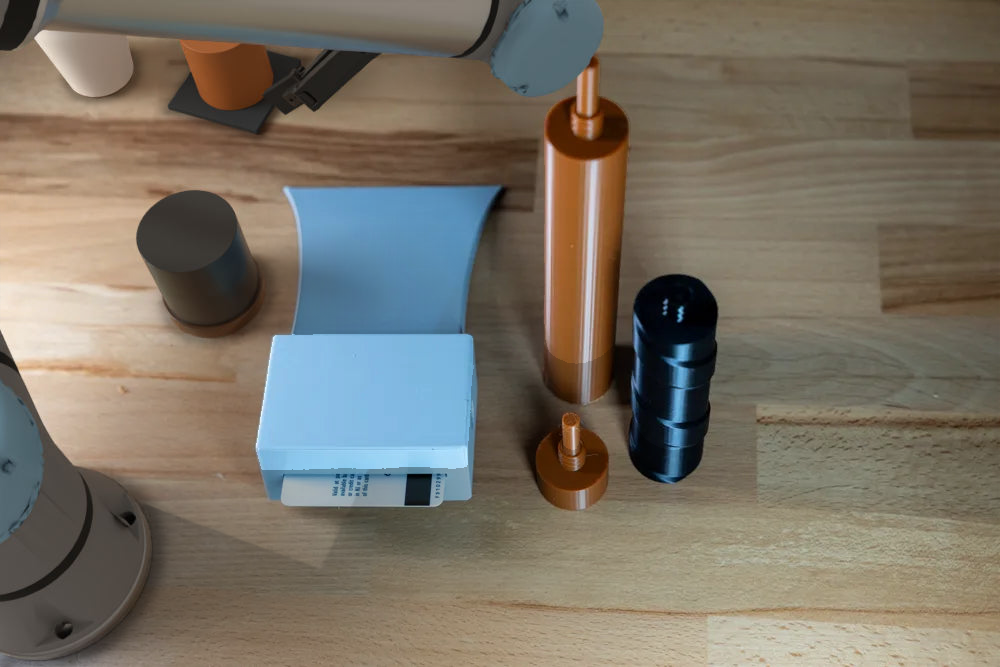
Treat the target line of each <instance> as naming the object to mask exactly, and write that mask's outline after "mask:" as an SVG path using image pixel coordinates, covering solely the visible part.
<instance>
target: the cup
mask: <svg viewBox="0 0 1000 667" xmlns="http://www.w3.org/2000/svg"><path fill="white" fill-rule="evenodd" d="M33 40H35V42H36V43H37V44H38V46H39V47H40V48H41V50H42V51H43V52H44V53H45V55H46V56H47V58H48V59H49V61H51V63H52V64H53V66H55V69H56V70H58V73H60V74H61V76H62V77H63V78H64V80H65V81H66V82H67V84H68V85H69V86H70V87H71V89H72V90H73V91H74V92H75V93H77V94H79V95H81V96H84V97H89V98H100V97H105V96H109V95H111V94H114V93H116V92H118V91H120V90H121V89H123V88H124V87H125V86H126V85H127V84H128V83H129V82H130V80H131V78H132V77H133V74H134V61H133V58H132V53H131V49H130V45H129V39H128V36H121V35H106V34H92V33H77V32H62V31H47V30H42V31H40V32H39V33H38V34H37V35H36V36H35V38H34V39H33Z"/></svg>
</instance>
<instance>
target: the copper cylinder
mask: <svg viewBox="0 0 1000 667" xmlns="http://www.w3.org/2000/svg"><path fill="white" fill-rule="evenodd" d="M178 41H179V43H180V46H181V49H182V51H183V54H184V56H185V59H186V62H187V65H188V67H189V70H190V72H191V73H192V75H193V78H194V81H195V83H196V86H197V88H198V91H199V94H200V96H201V97H202V99H203V100H204V101H205V102H206V103H207V104H209V105H210V106H212V107H214V108H217V109H221V110H239V109H244V108H247V107H250V106H252V105H254V104H256V103H257V102H259V101H260V100H262V99H263V98H264V97H263V96H262V95H263V93H264V92H265V90H266V89H268V88H269V87H271V86H272V84H273V71H272V68H271V65H270V61H269V58H268V54H267V51H266V50H267V48H266V45H255V44H240V43H225V42H210V41H196V40H181V39H178Z"/></svg>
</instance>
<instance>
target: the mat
mask: <svg viewBox="0 0 1000 667" xmlns="http://www.w3.org/2000/svg"><path fill="white" fill-rule="evenodd" d="M266 51H267V54H268V58H269V61H270V65H271V68H272V71H273V84H272V85H274V84H275V83H277V82H278V81H280V80H281V79H283V78H285V77H286V76H288V75H289V74H290V73H291V71H292V70H293V68H294V67H295V68H296V69H298V68H300V67H301V66H302V59H301V58H297V57H293V56H290V55H286V54H283V53H279V52H276V51H271V50H267V49H266ZM167 108H168V110H170V111H172V112H173V111H174V112H177V113H180V114H184V115H187V116H190V117H194V118H198V119H201V120H204V121H209V122H212V123H215V124H219V125H223V126H226V127H230V128H232V129H236V130H239V131H244V132H247V133H251V134H254V135H259V133H260V131H261V130H262V128H264V125H265V123H266V122H267V120H268V119H269V117H270V115H271V114H272V112H273V111H274V109H275V108H276V107H275V106H274V105H273V104H272V103H270V102H269V101H268V100H267V99H266V98H263V99H262V100H260V101H259V102H257V103H256V104H254V105H252V106H250V107H247V108H244V109H239V110H221V109H217V108H214V107H212V106H210V105H209V104H207V103H206V102H205V101H204V100H203V99H202V97H201V96H200V94H199V91H198V88H197V86H196V83H195V81H194V78H193V75H192V73H191V71H190V72H189V73H188V75H187V76H186V77H185V79H184V80H183V82H182V84H181V85H180V87H179V88H178V90H177V91H176V93H175V94H174V95H173V97H172V99H171V100H170V101H169V103H168V104H167Z"/></svg>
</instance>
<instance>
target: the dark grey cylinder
mask: <svg viewBox="0 0 1000 667" xmlns="http://www.w3.org/2000/svg"><path fill="white" fill-rule="evenodd" d="M135 237H136V238H135V242H136V247H137V250H138V252H139V255H140V256H141V258H142V260H143V262H144V264H145V266H146V268H147V270H148V272H149V273H150V276H151V278H152V279H153V281H154V283H155V284H156V286H157V288H158V291H159V292H160V294H161V297H162V298H161V299H162V303H163V307H164V308H165V310H166V312H167V314H168V316H169V318H170V320H171V321H172V322H173V324H174V325H175V326H176V327H177V328H179V329H180V330H181V331H182V332H184V333H186V334H189V335H191V336H194V337H198V338H205V339H212V338H221V337H226V336H228V335H231V334H233V333H236V332H238V331H240V330H241V329H243V328H244V327H246V326H247V325H249V324H250V323H251V322H252V321H253V320H254V319H255V317H256V316H257V315H258V314H259V312H260V311H261V309H262V307H263V305H264V303H265V299H266V296H267V295H266V294H267V285H266V284H267V283H266V279H265V277H264V274H263V272H262V268H261V266H260V264H259V263H258V262H257V260H256V259H255V258H254V257H253V255H252V252H251V251H250V248H249V245H248V243H247V240H246V237H245V235H244V233H243V230H242V227H241V225H240V222H239V219H238V217H237V214H236V212H235V210H234V208H233V207H232V204H230V203H229V202H228V201H227V200H226V199H225V198H223V197H222V196H220V195H218V194H216V193H214V192H211V191H207V190H202V189H201V190H200V189H190V190H189V189H188V190H181V191H178V192H175V193H172V194H169V195H167V196H165V197H164V198H161V199H159V200H158V201H157V202H155V203H154V204H153V205H152V206H151V207H150V208H148V210H147V211H146V212H145V213H144V214H143V216H142V218H141V219H140V221H139V224H138V226H137V229H136V234H135Z"/></svg>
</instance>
